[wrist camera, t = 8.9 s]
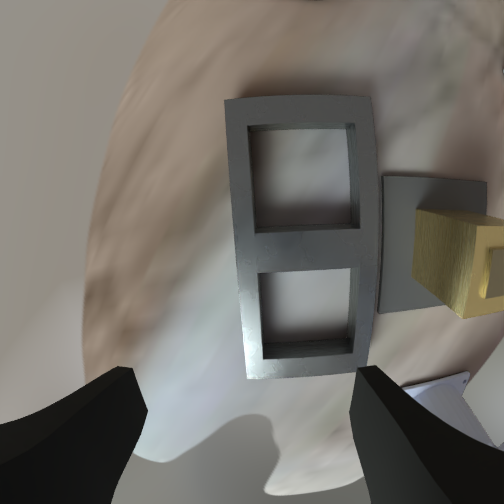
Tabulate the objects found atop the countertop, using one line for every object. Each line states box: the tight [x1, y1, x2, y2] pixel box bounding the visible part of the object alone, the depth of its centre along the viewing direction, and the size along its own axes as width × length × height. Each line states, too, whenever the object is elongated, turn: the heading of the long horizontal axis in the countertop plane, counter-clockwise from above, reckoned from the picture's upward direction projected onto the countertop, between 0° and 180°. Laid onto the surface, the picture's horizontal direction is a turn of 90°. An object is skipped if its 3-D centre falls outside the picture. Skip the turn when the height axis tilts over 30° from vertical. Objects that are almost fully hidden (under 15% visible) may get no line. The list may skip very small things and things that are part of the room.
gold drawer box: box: [411, 209, 504, 319], centre depth 13 cm, size 4×4×7 cm
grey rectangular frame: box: [224, 95, 379, 379], centre depth 16 cm, size 17×8×2 cm, turn 4°
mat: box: [377, 176, 487, 314], centre depth 16 cm, size 9×9×1 cm
